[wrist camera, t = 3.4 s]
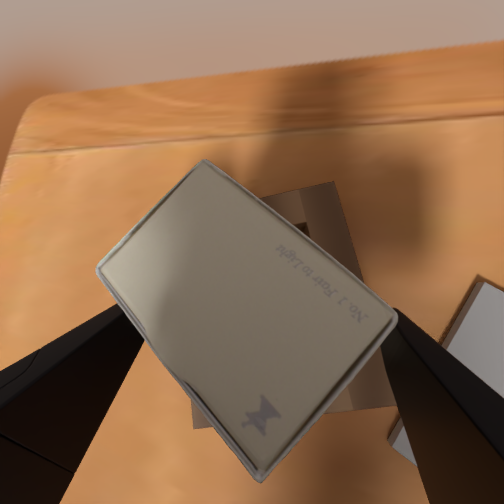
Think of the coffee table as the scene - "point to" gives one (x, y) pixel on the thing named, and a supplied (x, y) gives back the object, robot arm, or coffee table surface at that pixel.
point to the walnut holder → (341, 248)
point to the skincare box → (244, 312)
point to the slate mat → (471, 347)
